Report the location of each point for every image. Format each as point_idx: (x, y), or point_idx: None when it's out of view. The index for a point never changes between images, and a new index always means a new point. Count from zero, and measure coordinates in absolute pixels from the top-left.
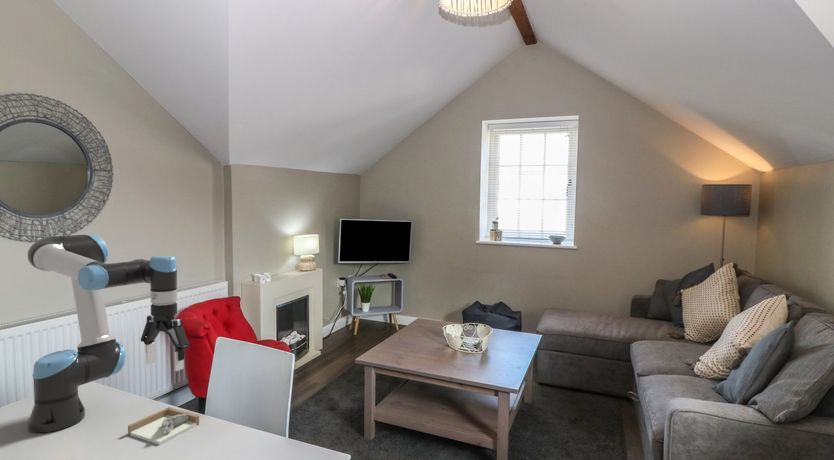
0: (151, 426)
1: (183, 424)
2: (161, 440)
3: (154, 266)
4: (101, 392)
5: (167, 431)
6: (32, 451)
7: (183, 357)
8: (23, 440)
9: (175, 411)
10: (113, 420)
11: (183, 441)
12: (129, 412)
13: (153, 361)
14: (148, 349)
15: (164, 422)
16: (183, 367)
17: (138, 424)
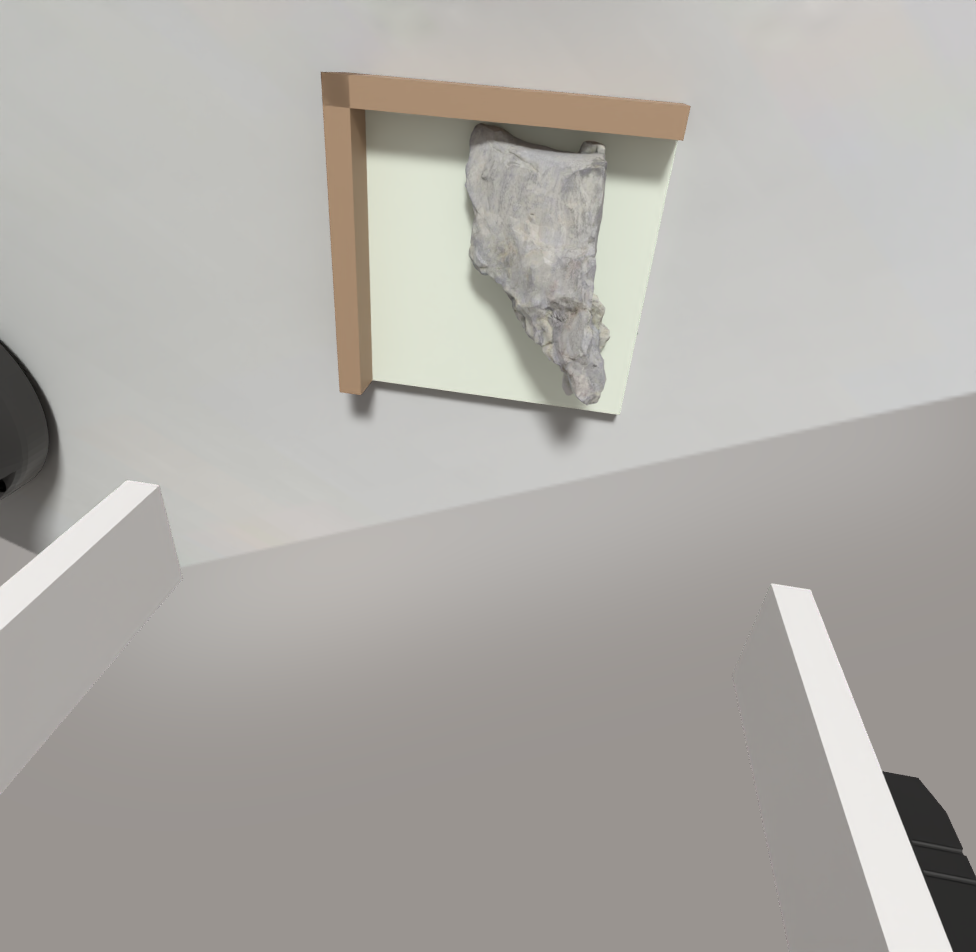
0: (417, 290)
1: None
2: (618, 400)
3: None
4: None
5: (599, 345)
6: None
7: (940, 839)
8: (35, 520)
9: (436, 115)
10: (120, 272)
11: (731, 337)
12: (75, 150)
13: (157, 524)
14: (16, 763)
15: (587, 384)
16: (813, 606)
17: (363, 343)
